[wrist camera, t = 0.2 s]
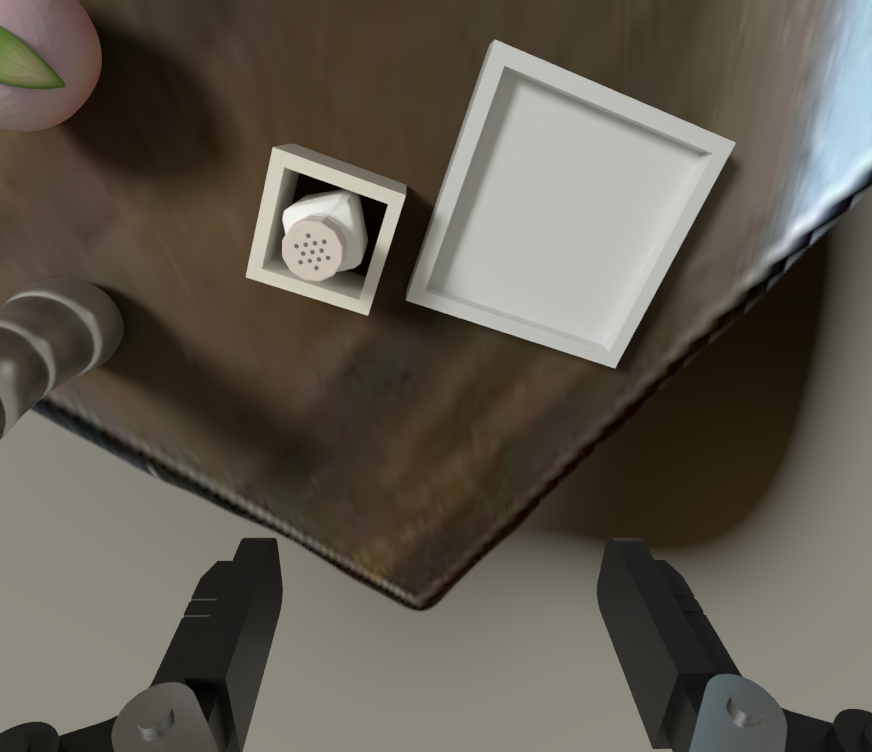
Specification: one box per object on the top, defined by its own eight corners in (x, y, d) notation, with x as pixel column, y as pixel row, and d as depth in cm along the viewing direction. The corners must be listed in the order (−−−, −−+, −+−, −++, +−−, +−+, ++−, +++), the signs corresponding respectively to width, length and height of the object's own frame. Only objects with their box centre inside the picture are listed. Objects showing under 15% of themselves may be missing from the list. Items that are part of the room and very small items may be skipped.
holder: (292, 143, 34) (272, 147, 29) (406, 185, 36) (405, 195, 31) (267, 256, 37) (245, 277, 32) (373, 290, 39) (368, 315, 34)
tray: (489, 45, 32) (494, 39, 30) (715, 141, 35) (735, 142, 33) (406, 290, 39) (406, 300, 36) (603, 354, 42) (615, 368, 39)
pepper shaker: (299, 195, 36) (263, 218, 27) (358, 185, 36) (341, 206, 27) (314, 255, 37) (284, 295, 29) (370, 245, 37) (358, 283, 29)
